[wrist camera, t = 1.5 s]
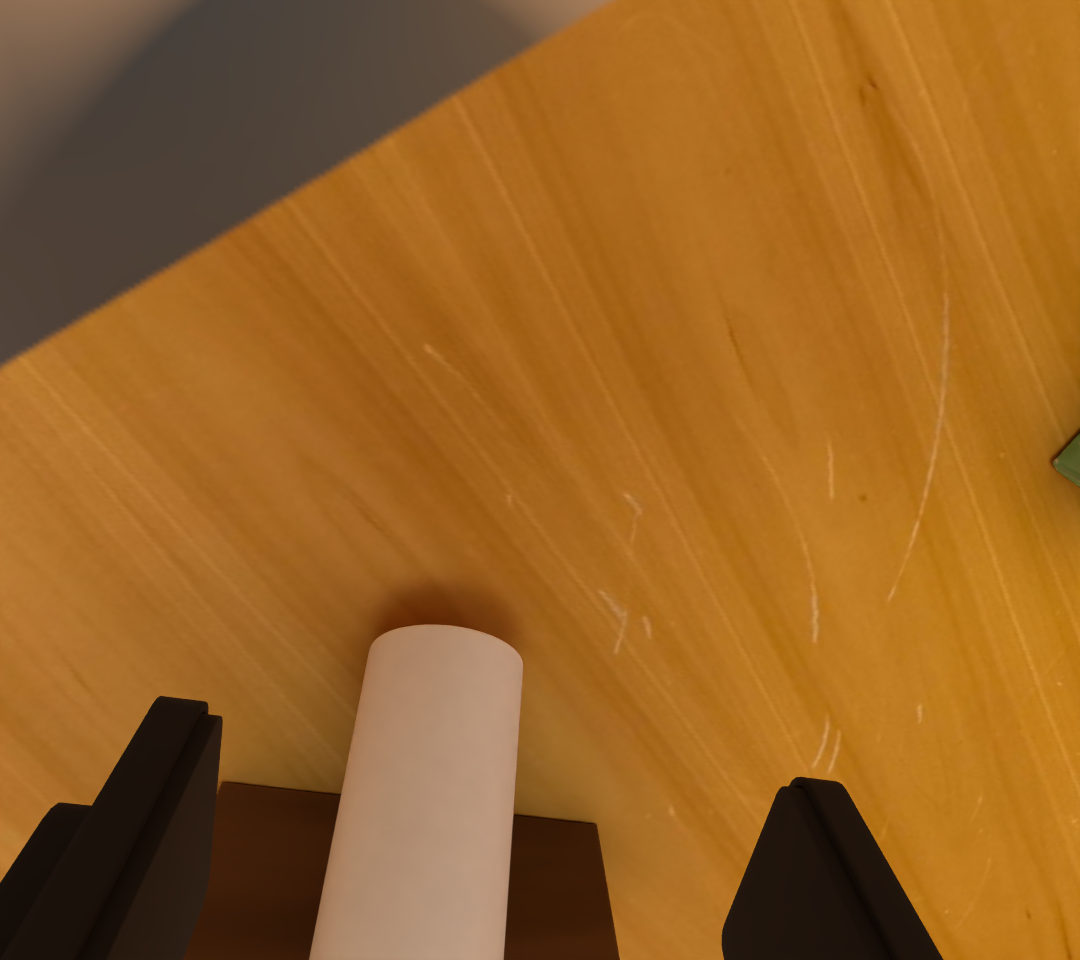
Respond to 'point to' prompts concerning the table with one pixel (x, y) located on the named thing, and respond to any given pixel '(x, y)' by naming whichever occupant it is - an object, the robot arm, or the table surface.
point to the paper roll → (426, 802)
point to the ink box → (1070, 461)
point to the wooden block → (301, 862)
